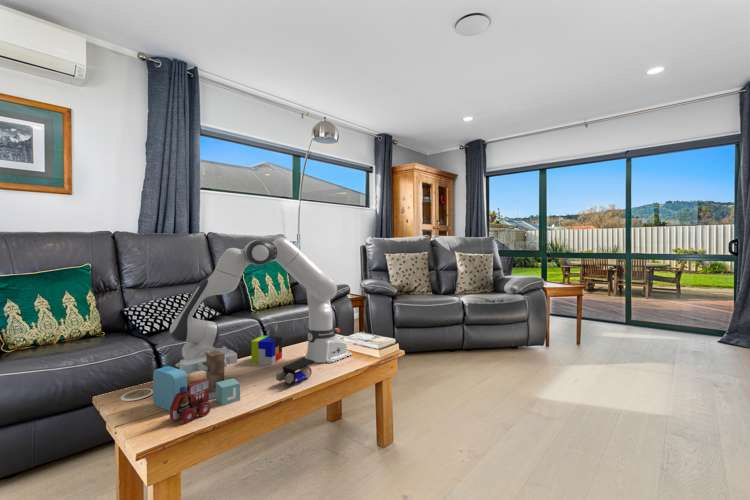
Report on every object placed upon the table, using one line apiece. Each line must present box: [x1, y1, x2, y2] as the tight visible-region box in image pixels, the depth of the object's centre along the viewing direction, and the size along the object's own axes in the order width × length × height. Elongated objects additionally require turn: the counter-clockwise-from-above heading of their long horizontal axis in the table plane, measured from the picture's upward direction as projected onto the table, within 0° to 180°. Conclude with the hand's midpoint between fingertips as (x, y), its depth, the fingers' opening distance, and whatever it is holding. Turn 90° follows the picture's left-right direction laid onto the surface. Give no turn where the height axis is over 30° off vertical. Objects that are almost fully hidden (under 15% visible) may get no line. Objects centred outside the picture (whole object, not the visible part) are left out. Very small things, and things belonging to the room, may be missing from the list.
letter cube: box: [215, 378, 241, 406], centre depth 126 cm, size 6×6×6 cm
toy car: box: [275, 357, 316, 388], centre depth 143 cm, size 7×8×15 cm
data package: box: [152, 365, 188, 412], centre depth 121 cm, size 12×4×12 cm, turn 59°
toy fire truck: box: [169, 378, 212, 424], centre depth 114 cm, size 7×12×10 cm, turn 148°
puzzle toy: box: [250, 335, 283, 365], centre depth 169 cm, size 10×10×10 cm
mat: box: [209, 390, 216, 401], centre depth 135 cm, size 10×16×1 cm, turn 43°
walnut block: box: [205, 350, 225, 392], centre depth 135 cm, size 4×6×13 cm
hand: (216, 367), depth 134 cm, fingers open, 5 cm apart
